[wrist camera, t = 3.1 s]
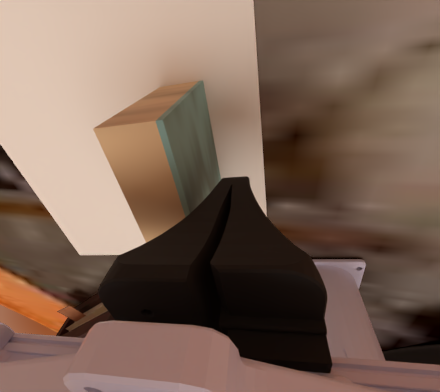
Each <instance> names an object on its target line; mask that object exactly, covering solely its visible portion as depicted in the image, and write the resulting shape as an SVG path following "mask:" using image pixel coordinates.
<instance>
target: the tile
mask: <svg viewBox="0 0 440 392" xmlns="http://www.w3.org/2000/svg"><path fill="white" fill-rule="evenodd" d="M93 130H94V132H95V134H96V137H97V139H98V141H99V143H100V145H101V147H102V149H103V152H104V154H105V156H106V158H107V160H108V162H109V164H110V166H111V169H112V171H113V173H114V175H115V177H116V179H117V181H118V184H119V186H120V188H121V190H122V192H123V194H124V196H125V199H126V201H127V203H128V205H129V207H130V209H131V211H132V214H133V216H134V218H135V220H136V222H137V224H138V226H139V229H140V231H141V233H142V235H143V237H144V239H145V241H146V243H147V242H149V241H150V240H152V239H154V238H156V237H157V236H159V235H161V234H163V233H164V232H166V231H167V230H169V229H170V228H171V227H173V226H174V225H176V224H177V223H179V222H180V221H181V220H183V219H184V218H185V217H186V216H188V215H189V214H190V213H191V212H192V211H193V210H194V209H195V208H196V207H197V206H198V205H199V204H200V203H201V202H202V201H203V200H204V199H205V198H206V197H207V196H208V195H209V194H210V192H211V191H212V190H213V189H214V188H215V186H216V185H217V184H218V183H219V182H220V180H221V176H220V171H219V165H218V160H217V154H216V149H215V143H214V138H213V132H212V127H211V121H210V116H209V110H208V105H207V99H206V94H205V88H204V83H203V81H196V82H190V83H183V84H177V85H170V86H164V87H159V88H158V89H156V90H154V91H153V92H151V93H150V94H148V95H146V96H145V97H143V98H142V99H140V100H138V101H137V102H135V103H134V104H132V105H130V106H129V107H127V108H125V109H124V110H122V111H121V112H119V113H117V114H116V115H114V116H113V117H111V118H109V119H108V120H106V121H104V122H103V123H101V124H100V125H98V126H96V127H95V128H93Z"/></svg>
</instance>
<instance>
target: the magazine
mask: <svg viewBox="0 0 440 392" xmlns="http://www.w3.org/2000/svg"><path fill="white" fill-rule="evenodd" d="M382 353H383V355H384V358H385V361H394V362H408V363H421V364H434V365H440V344H432V345H421V346H411V347H404V348H398V349H393V350H388V351H383V352H382Z"/></svg>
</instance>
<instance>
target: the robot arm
mask: <svg viewBox="0 0 440 392" xmlns="http://www.w3.org/2000/svg"><path fill="white" fill-rule="evenodd" d="M365 266H366V264H365V261H364V260H362V259H312V258H311V257H310V256H309V255H308V254H306V253H305V252H304V251H302V250H301V249H299V248H298V247H297V246H295V245H294V244H293V243H292V242H291V241H289V240H288V239H287V238H286V237H285V236H284V235H283V234H282V233H281V232H280V231H279V230H278V229H277V228H276V227H275V226H274V225H273V224H272V222H271V221H270V220H269V219H268V217H267V216H266V215H265V213H264V212H263V211H262V209H261V207H260V206H259V204H258V202H257V200H256V198H255V196H254V194H253V192H252V190H251V187H250V179H249V177H247V176H243V177H228V178H222V179H221V180H220V182H219V183H218V184H217V185H216V186H215V188H214V189H213V190H212V191H211V192H210V194H209V195H208V196H207V197H206V198H205V199H204V200H203V201H202V202H201V203H200V204H199V205H198V206H197V207H196V208H195V209H194V210H193V211H192V212H191V213H190V214H189V215H188V216H186V217H185V218H184V219H183V220H181V221H180V222H179V223H177V224H176V225H174V226H173V227H171V228H170V229H169V230H167V231H166V232H164V233H163V234H161V235H159V236H157V237H156V238H154V239H152V240H150V241H149V242H147V243H145V244H143V245H141V246H139V247H137V248H134V249H132V250H130V251H128V252H126V253H123V254H121V255H119V256H118V257H117V258H116V260H115V261H114V263H113V265H112V266H111V268H110V270H109V271H108V273H107V275H106V276H105V278H104V279H103V281H102V283H101V284H100V286H99V289H98V294H99V298H100V300H101V302H102V303H103V305H104V306H105V307H106V309H107V310H108V311H109V313H110V314H111V315H112V317H113V318H114V319H115V321H114V320H113V321H104V322H99V323H96V324H95V325H94V326H93V327H92V328H91V329H90V330H89V332H88V333H87V335H86V337H85V338H76V337H62V336H49V335H35V334H23V333H22V334H21V333H14V331H13V330H12V329H11V328H10V327H8V326H7V325H5V324H3V323H1V322H0V392H440V365H434V364H421V363H408V362H394V361H385V358H384V355H383V353H382V350H381V347H380V345H379V342H378V340H377V337H376V334H375V332H374V329H373V326H372V324H371V321H370V318H369V316H368V313H367V310H366V308H365V305H364V303H363V300H362V297H361V295H360V292H359V288H360V284H361V280H362V277H363V273H364V270H365Z"/></svg>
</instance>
